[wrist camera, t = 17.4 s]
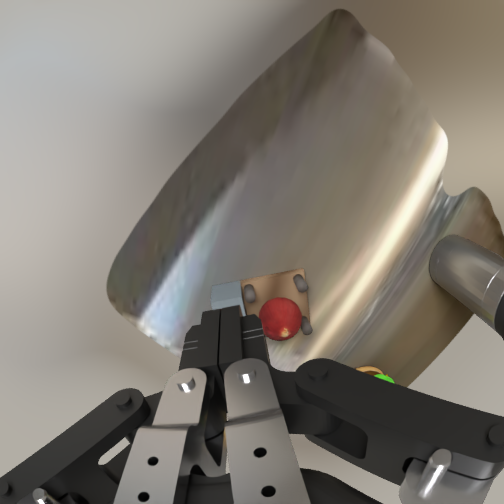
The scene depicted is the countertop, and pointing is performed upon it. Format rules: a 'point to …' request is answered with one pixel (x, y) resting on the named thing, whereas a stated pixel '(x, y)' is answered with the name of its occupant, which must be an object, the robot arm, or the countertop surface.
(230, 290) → the housing
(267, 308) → the onion
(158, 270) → the countertop surface
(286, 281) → the pin seat
